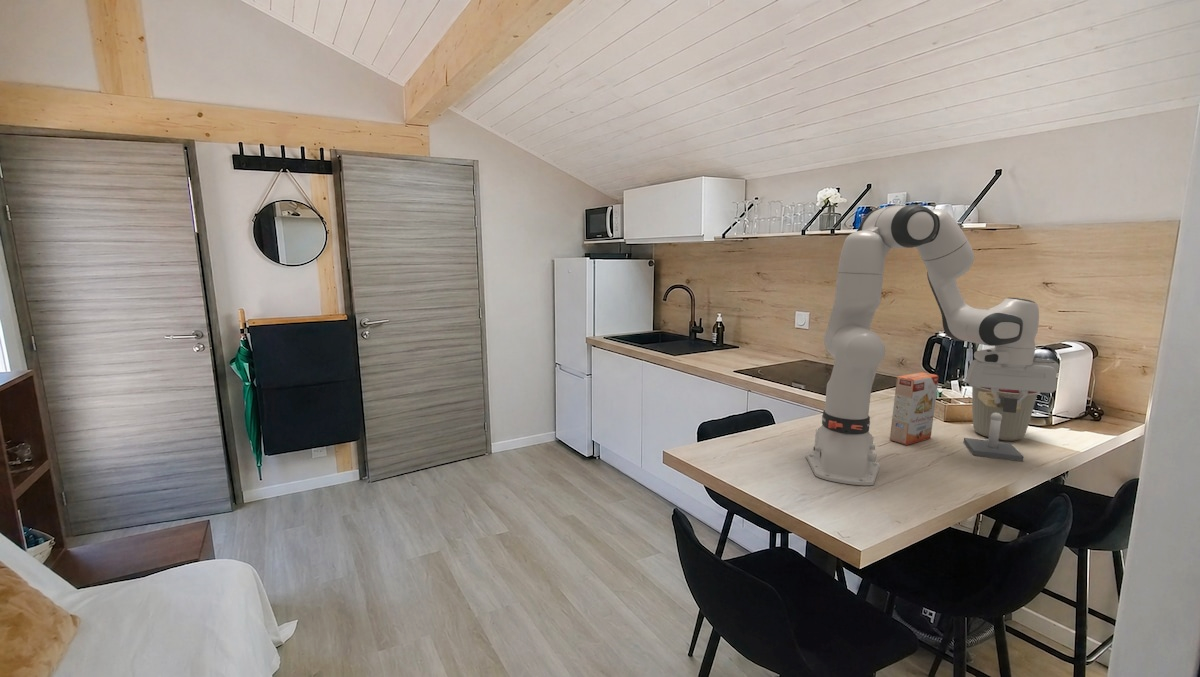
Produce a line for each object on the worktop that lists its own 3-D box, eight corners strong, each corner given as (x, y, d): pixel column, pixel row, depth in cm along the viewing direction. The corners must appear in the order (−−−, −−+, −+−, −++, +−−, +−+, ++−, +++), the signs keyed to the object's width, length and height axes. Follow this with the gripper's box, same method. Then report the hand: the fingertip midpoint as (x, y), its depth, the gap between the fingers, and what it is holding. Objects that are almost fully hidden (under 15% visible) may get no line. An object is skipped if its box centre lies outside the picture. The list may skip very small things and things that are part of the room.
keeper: (1023, 461, 154) (1028, 421, 152) (973, 455, 158) (978, 415, 156) (1009, 447, 164) (1014, 409, 163) (963, 442, 169) (967, 405, 167)
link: (977, 397, 165) (979, 384, 164) (1009, 400, 162) (1011, 387, 161) (992, 410, 151) (993, 396, 151) (1026, 414, 148) (1028, 400, 148)
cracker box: (907, 446, 165) (915, 379, 161) (888, 440, 170) (895, 375, 166) (932, 438, 172) (940, 374, 169) (913, 433, 177) (920, 371, 174)
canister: (1048, 444, 168) (1058, 378, 165) (997, 446, 165) (1006, 379, 162) (997, 425, 186) (1005, 366, 182) (951, 428, 183) (958, 367, 180)
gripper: (1055, 357, 149) (1048, 405, 151) (967, 351, 156) (962, 397, 158) (1064, 361, 143) (1057, 411, 145) (973, 355, 150) (967, 403, 153)
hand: (1007, 404), depth 152 cm, fingers closed on link, 3 cm apart
